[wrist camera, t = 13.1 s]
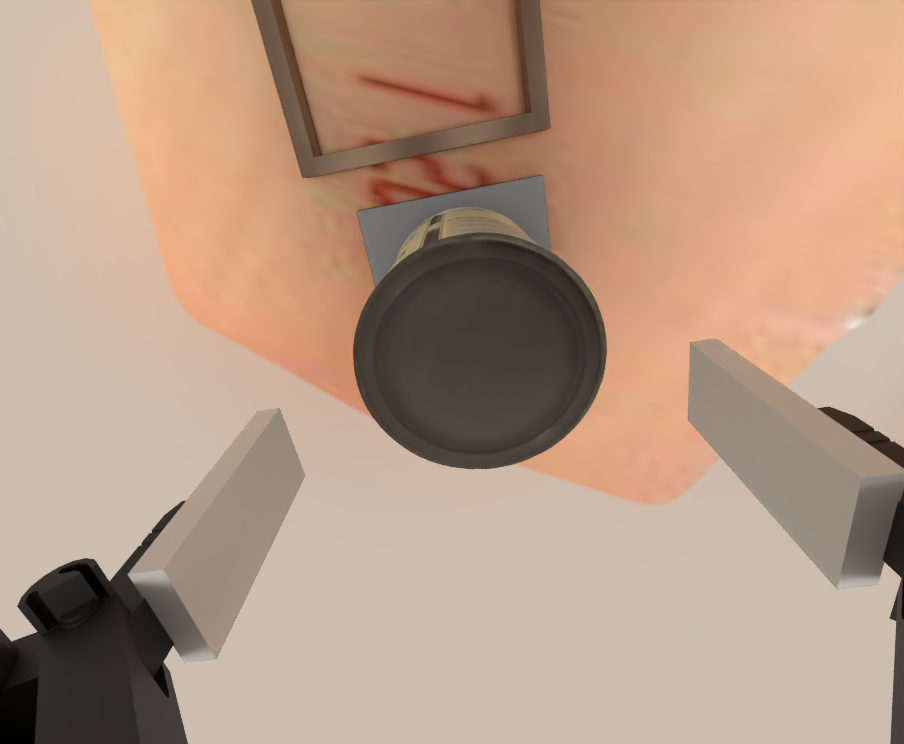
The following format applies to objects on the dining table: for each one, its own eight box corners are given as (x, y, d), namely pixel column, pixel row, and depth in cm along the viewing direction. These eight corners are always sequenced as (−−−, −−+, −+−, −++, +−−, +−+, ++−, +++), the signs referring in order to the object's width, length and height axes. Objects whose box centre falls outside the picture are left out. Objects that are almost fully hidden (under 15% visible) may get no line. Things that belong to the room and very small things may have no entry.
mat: (540, 175, 30) (543, 175, 29) (557, 347, 35) (560, 352, 34) (359, 210, 31) (356, 211, 30) (400, 373, 36) (398, 379, 35)
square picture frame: (513, -207, 23) (518, -240, 21) (544, 130, 29) (550, 128, 27) (224, -133, 24) (205, -157, 22) (311, 177, 30) (302, 178, 28)
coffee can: (527, 363, 34) (573, 482, 21) (387, 345, 34) (346, 457, 21) (559, 216, 30) (640, 254, 17) (399, 193, 29) (359, 215, 17)
